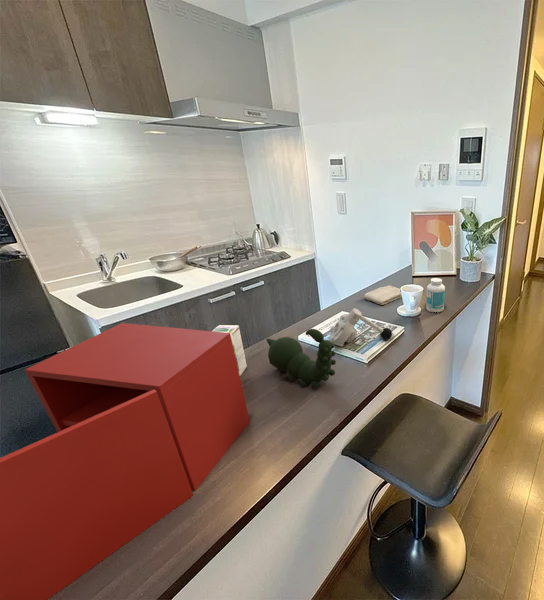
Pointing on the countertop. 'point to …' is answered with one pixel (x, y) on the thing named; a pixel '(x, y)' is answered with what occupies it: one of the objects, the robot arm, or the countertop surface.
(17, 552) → the door
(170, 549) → the countertop surface
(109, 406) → the red cupboard
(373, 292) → the washcloth
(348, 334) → the mechanical valve
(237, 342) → the syrup box
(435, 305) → the pill bottle
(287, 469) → the countertop surface
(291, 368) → the toy figurine
